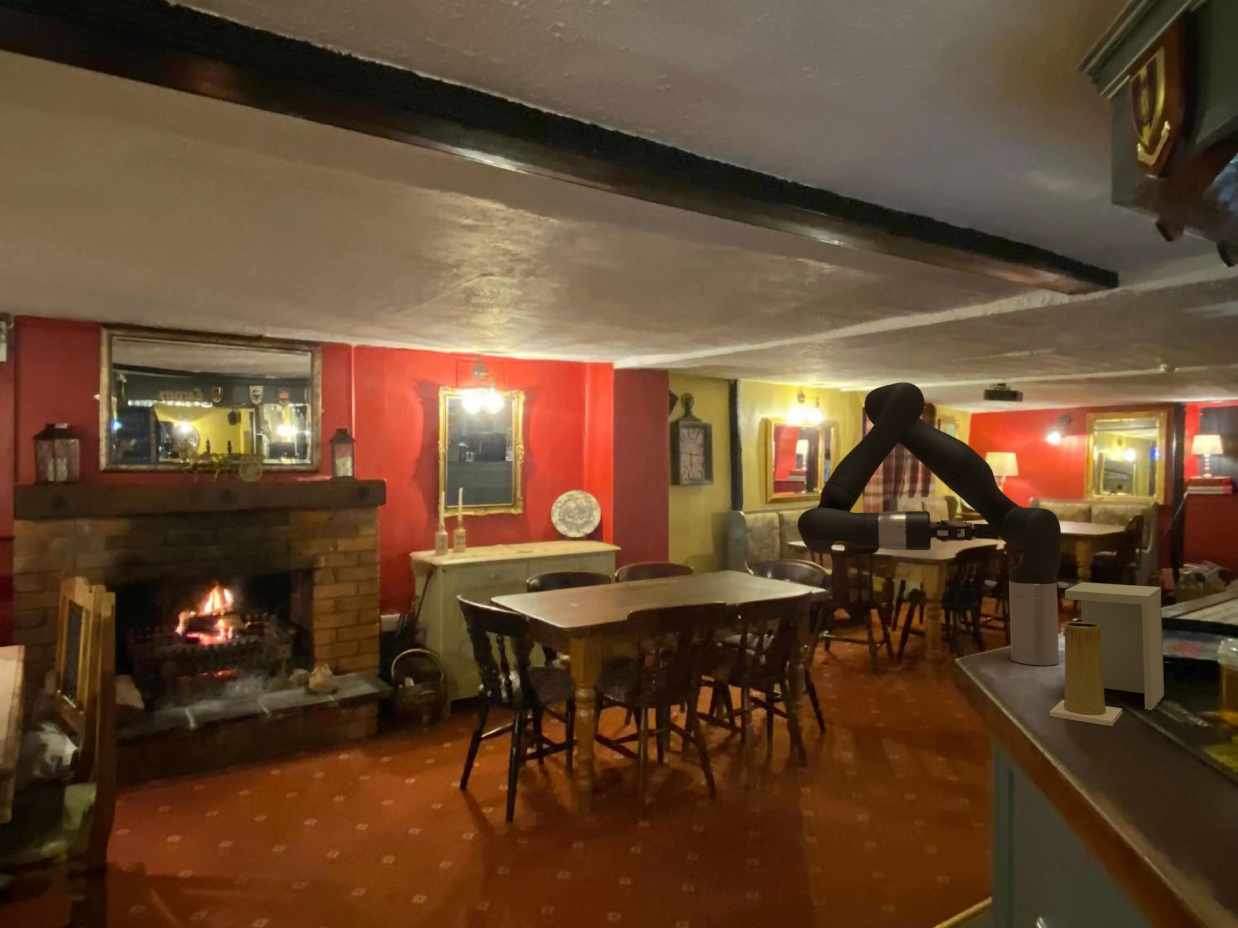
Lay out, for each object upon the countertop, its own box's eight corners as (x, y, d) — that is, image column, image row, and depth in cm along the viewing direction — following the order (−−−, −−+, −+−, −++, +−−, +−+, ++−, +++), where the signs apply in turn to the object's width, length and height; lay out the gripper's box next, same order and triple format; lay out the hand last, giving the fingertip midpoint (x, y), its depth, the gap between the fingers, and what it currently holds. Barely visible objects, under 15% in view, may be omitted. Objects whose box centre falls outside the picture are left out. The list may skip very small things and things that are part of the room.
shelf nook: (1085, 683, 155) (1082, 582, 156) (1164, 694, 147) (1160, 587, 147) (1067, 699, 145) (1064, 590, 145) (1152, 711, 136) (1148, 596, 137)
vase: (1112, 710, 135) (1109, 624, 135) (1096, 717, 131) (1093, 629, 132) (1073, 702, 140) (1071, 619, 140) (1057, 709, 136) (1054, 624, 136)
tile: (1062, 704, 142) (1062, 699, 142) (1122, 713, 136) (1122, 708, 136) (1049, 716, 135) (1049, 711, 135) (1111, 726, 129) (1111, 720, 129)
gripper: (902, 512, 150) (998, 512, 144) (904, 509, 163) (992, 509, 157) (903, 553, 150) (1000, 554, 144) (905, 546, 163) (993, 548, 157)
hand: (996, 531), depth 151 cm, fingers open, 8 cm apart
